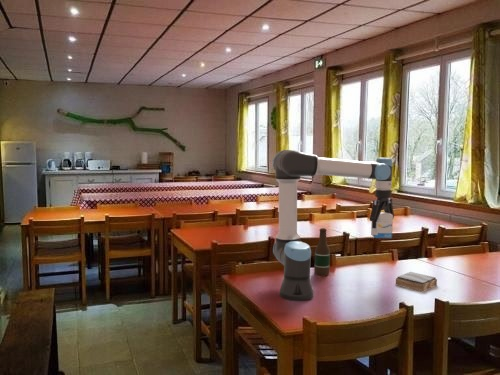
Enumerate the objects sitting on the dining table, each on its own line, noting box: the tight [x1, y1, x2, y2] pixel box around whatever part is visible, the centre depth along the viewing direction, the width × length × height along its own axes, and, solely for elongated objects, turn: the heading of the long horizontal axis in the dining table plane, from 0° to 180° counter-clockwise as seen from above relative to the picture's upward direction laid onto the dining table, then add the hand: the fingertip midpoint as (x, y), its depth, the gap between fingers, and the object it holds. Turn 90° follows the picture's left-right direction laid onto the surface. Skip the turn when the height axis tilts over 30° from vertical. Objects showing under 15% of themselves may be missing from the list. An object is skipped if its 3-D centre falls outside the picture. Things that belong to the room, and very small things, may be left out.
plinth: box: [395, 271, 438, 292], centre depth 227 cm, size 14×14×4 cm
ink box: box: [370, 211, 394, 239], centre depth 230 cm, size 9×8×12 cm
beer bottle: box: [313, 228, 331, 277], centre depth 243 cm, size 8×8×24 cm
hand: (381, 233), depth 231 cm, fingers closed on ink box, 11 cm apart
